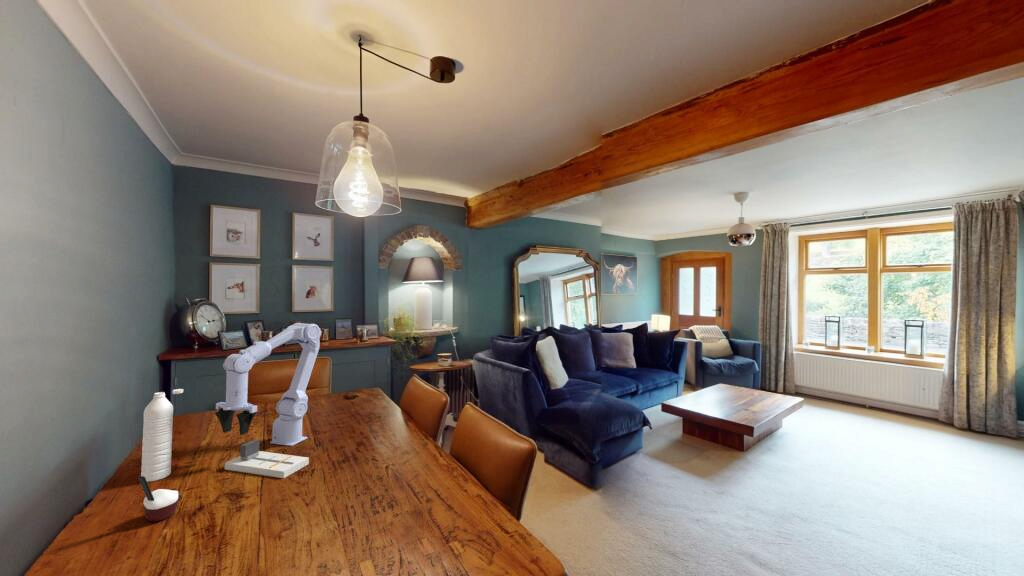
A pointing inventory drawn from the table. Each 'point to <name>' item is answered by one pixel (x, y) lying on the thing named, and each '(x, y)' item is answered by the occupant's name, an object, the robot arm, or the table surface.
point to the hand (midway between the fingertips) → (235, 432)
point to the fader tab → (249, 450)
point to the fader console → (268, 464)
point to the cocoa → (159, 502)
